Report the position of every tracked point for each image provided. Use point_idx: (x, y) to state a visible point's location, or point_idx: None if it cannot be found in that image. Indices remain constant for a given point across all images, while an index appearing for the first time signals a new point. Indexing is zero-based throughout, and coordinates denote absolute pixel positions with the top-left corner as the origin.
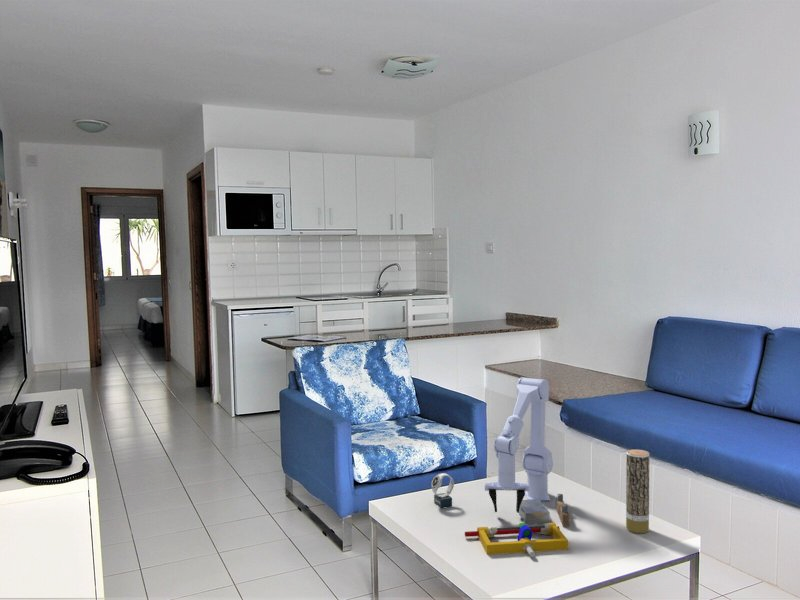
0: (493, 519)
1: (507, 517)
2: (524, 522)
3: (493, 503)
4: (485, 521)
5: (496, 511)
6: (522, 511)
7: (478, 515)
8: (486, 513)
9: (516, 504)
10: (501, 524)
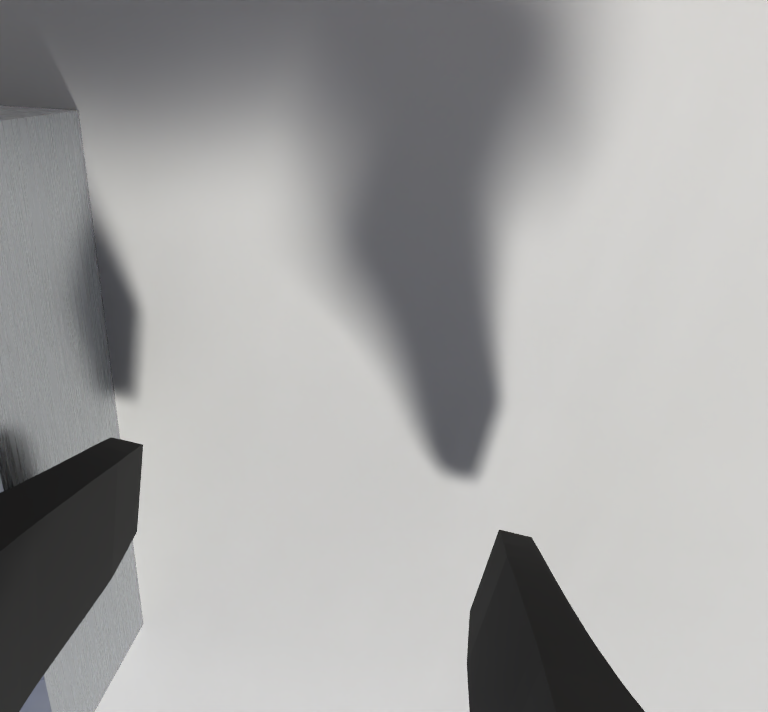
0: (573, 428)
1: (323, 452)
2: (83, 192)
3: (611, 670)
4: (746, 381)
5: (511, 538)
6: (18, 381)
7: (744, 605)
8: (591, 637)
9: (83, 616)
10: (514, 199)
